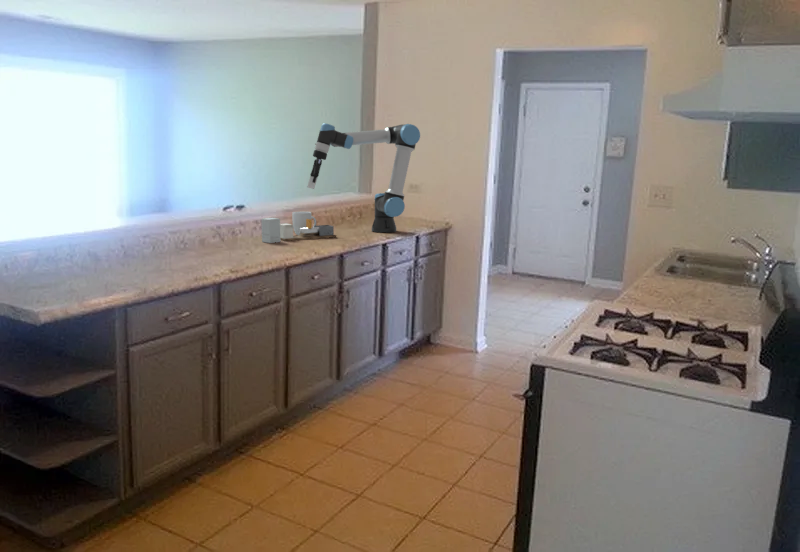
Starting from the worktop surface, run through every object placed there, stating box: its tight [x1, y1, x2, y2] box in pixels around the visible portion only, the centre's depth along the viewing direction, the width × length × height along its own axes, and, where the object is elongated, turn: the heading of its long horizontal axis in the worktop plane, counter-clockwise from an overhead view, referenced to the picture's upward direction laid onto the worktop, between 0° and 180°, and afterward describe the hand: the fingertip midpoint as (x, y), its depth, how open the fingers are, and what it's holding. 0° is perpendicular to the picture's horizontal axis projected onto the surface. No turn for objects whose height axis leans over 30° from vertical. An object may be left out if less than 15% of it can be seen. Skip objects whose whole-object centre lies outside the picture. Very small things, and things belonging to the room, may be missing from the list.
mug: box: [291, 211, 317, 236], centre depth 392 cm, size 15×11×13 cm
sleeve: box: [313, 224, 335, 236], centre depth 383 cm, size 9×7×5 cm
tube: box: [298, 219, 319, 236], centre depth 380 cm, size 18×4×9 cm, turn 125°
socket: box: [280, 223, 294, 239], centre depth 370 cm, size 5×8×7 cm
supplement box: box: [260, 217, 282, 244], centre depth 362 cm, size 7×7×13 cm
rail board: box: [280, 234, 337, 242], centre depth 378 cm, size 32×9×1 cm, turn 125°
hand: (310, 188), depth 378 cm, fingers open, 13 cm apart
